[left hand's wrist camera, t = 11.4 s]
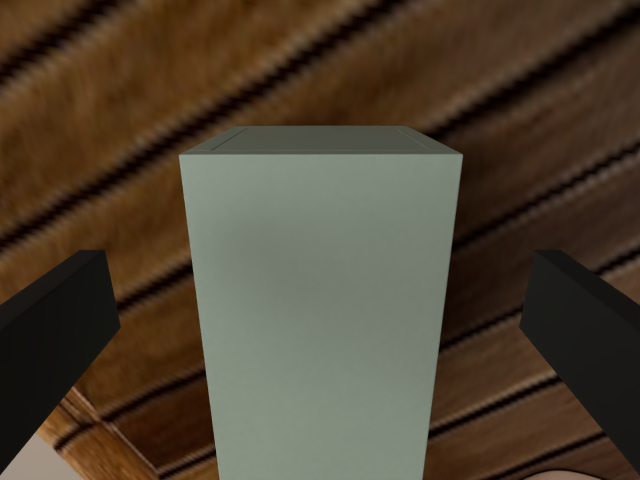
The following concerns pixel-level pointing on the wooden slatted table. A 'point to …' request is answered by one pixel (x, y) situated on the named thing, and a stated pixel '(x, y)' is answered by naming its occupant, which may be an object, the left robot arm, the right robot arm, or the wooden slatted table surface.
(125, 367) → the wooden slatted table surface
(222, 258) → the cabinet
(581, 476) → the anatomical model
